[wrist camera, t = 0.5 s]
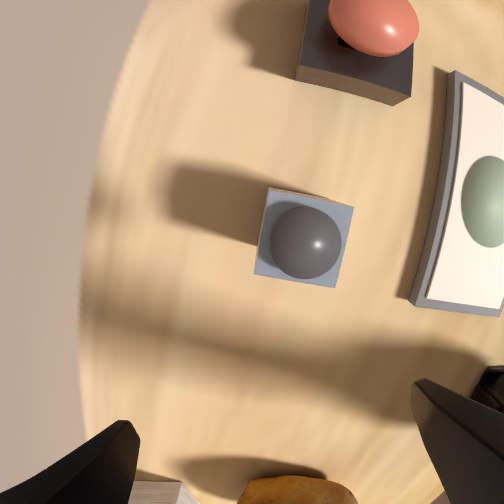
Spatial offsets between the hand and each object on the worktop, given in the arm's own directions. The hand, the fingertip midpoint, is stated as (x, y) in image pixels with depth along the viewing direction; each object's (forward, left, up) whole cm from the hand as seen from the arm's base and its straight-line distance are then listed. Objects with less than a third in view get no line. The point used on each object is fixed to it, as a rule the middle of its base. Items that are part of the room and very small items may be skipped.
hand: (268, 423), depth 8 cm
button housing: (-3, -17, -14) cm, 22 cm away
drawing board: (-16, -9, -14) cm, 23 cm away
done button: (-3, -17, -11) cm, 21 cm away
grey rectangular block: (-1, -4, -14) cm, 14 cm away
